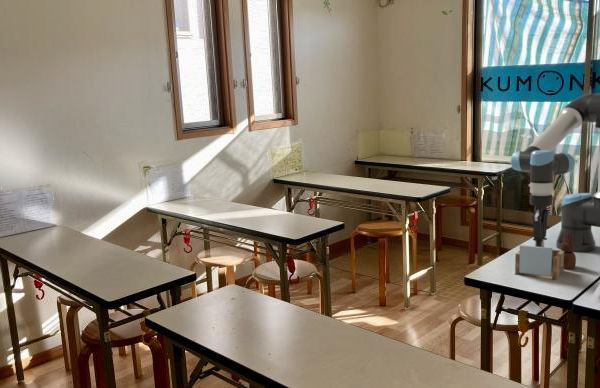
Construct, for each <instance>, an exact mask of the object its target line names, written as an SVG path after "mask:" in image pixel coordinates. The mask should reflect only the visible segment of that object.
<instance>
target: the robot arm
mask: <svg viewBox="0 0 600 388" xmlns="http://www.w3.org/2000/svg"><path fill="white" fill-rule="evenodd" d="M586 123H587V124H588V123H594V125H595V126H594V127H595V129H596V130H597V131H598V132H599V133H598V134H599V135H598V136H599V141H598V144H599V145H598V169H597V170H598V173H597V179H598V180H597V191H596V192H595V193H594V194H593V193H591V192H580V193H579V192H578V193H577V192H576V193H570V194H565V195H564V196H563V197H562V198H561V204H560V205H561V216H560V217H561V221H560V223H561V224H560V226H561V227H560V231H559V234H558V236H557V238H556V241H555V246H556V247H557V248H558V249H559V250H561V243H562V242H564V238H565V237H566V235H567V236H568V233H569V237H570V233H571V234H572V242H573V244H574V251H573V252H578V253H579V252H591V251H595V250H596V241H595V238H594V235H593V231H592V227H595V228H600V92H599V93H598V92H597V93H596V92H593V93H591V92H589V93H586V94H583V95H581V96H579V97H577V98H575V99H573V100H571V101H570V102H569V103H568V104H566V105H565V106H564V107H562V109H561V110H560V111H559V113H558V116H557V117H556V118H555V120H554V121H552V122H551V124H549V126H547V127H546V129H544V131H543V132H541V134H540V135H539V136H537V137H536V138H535V140H534V141H533V142H531V144H530V145H529V146H527V148H526V149H524V150H523V151H522V150H519V151H515V152H513V154H512V155H511V157H510V165H511V168H512V169H513V170H515V171H519V172H522V173H524V172H525V173H530V180H529V181H530V183H529V184H528V187H529V193H530V195H529V205H530V206H534V210H533V215H532V216H531V218H532V228H533V239H532V241H535V244H534V246H536V247H545V241H547V240H548V238H547V227H548V218H549V217H548V216H549V209H547V207H549V206H551V205H553V191H554V185H553V184H554V181H553V179H554V176H560V175H566V174H568V173H570V172H571V171H572V170H574V168H575V164H576V163H575V158H574V157H573V155H571V154H570V153H567V152H559V153H554V151H553V150H555V149H556V148H557V146H558V145H559V144H560V143H561V142H563V141H564V140H565V138H566V137H568V136H569V134H570V133H571V132H572V131H574V129H577V128H579V127H581V126H582V124H583V125H584V124H586Z"/></svg>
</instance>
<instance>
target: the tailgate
mask: <svg viewBox="0 0 600 388" xmlns="http://www.w3.org/2000/svg"><path fill="white" fill-rule="evenodd" d="M552 249H553V248H552V247H545V246H544V247H536V246H535V245H525V244H520V245H519V251H520V258H519V272H520V273H527V274H535V275H542V276H550V277H551V276H552Z"/></svg>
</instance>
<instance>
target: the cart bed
mask: <svg viewBox="0 0 600 388" xmlns="http://www.w3.org/2000/svg"><path fill="white" fill-rule="evenodd" d="M519 258H520V250H518V252H516V253H515V258H514V260H515V261H514V262H515V263H514V267H515V269H514V270H515V271H514V275H515V276H516V275H517V276H518V275H519V276H527V277H535V278H539V279H540V278H541V279H548V280H552V281H557V279H558V278H559V277H560V275H562V273H564V271H565V269H564V251H562V250H561V249H553V248H552V276H551V277H550V276H542V275H535V274H527V273H520V272H519Z"/></svg>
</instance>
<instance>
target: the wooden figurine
mask: <svg viewBox="0 0 600 388" xmlns="http://www.w3.org/2000/svg"><path fill="white" fill-rule="evenodd" d="M560 250H562V251H564V270H574V269H575V268H576V264H577V257H576V254H575V251H574V244H573V242H572V234H571V233H570V237H569V233H568V236H567V235H566V237H565V238H564V242H562V243H561V249H560Z"/></svg>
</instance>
